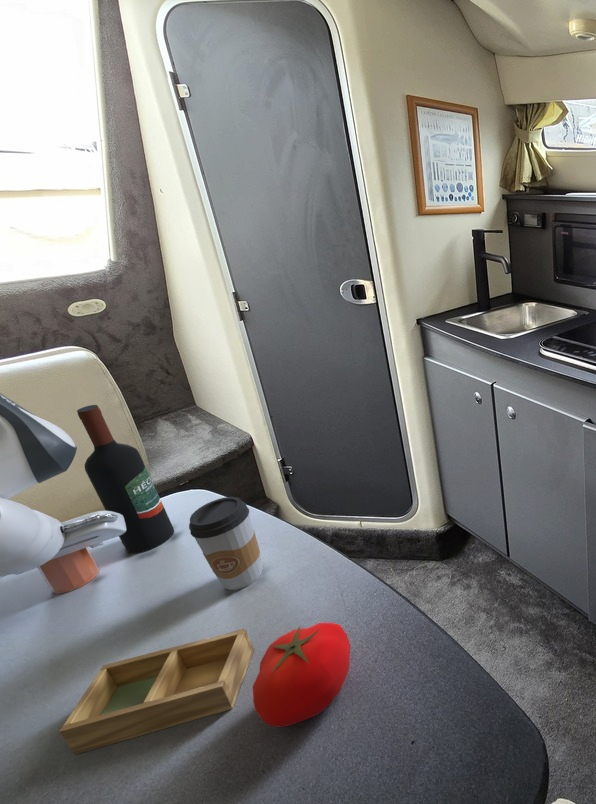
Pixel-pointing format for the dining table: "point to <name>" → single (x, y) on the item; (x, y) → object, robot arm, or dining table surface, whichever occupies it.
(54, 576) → the tumbler
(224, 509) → the coffee cup
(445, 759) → the dining table surface
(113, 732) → the tray
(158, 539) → the wine bottle
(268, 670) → the tomato
